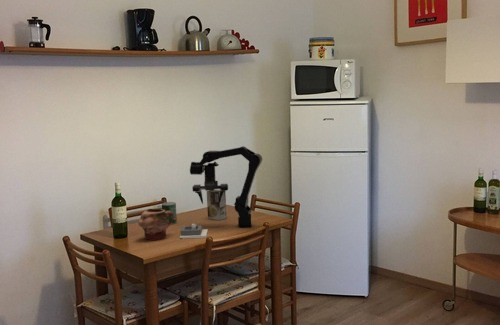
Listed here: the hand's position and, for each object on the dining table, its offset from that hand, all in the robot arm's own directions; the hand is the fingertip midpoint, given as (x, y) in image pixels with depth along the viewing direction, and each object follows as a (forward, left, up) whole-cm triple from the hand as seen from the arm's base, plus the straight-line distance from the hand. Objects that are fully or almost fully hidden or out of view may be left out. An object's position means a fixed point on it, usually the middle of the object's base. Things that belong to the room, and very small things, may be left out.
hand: (211, 203), depth 295 cm
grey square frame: (+9, +19, -11) cm, 24 cm away
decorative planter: (+26, +21, -12) cm, 36 cm away
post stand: (+8, +19, -12) cm, 24 cm away
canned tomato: (+24, -9, -12) cm, 28 cm away
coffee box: (-2, -16, -12) cm, 20 cm away
